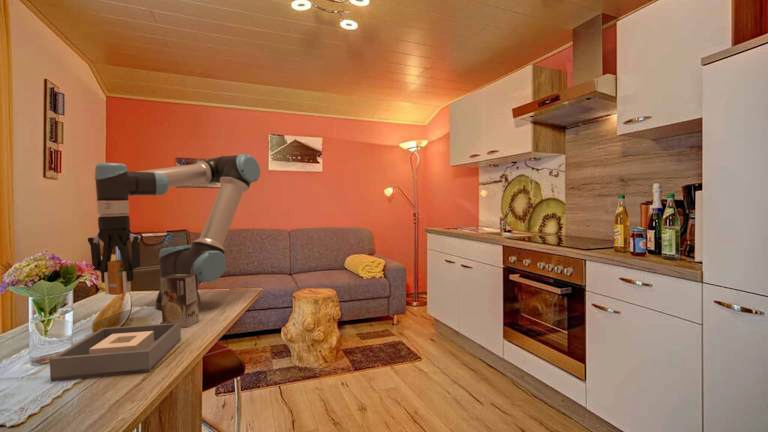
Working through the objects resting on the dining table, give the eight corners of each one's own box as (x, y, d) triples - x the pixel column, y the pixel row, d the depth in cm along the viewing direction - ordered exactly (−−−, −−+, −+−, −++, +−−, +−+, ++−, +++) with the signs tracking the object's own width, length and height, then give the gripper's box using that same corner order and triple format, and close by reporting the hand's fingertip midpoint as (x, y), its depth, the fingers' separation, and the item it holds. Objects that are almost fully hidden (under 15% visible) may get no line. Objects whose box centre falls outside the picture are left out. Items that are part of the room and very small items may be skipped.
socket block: (112, 348, 95) (112, 333, 94) (154, 345, 97) (153, 330, 96) (89, 365, 85) (89, 349, 85) (136, 361, 87) (135, 345, 87)
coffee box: (200, 320, 119) (198, 273, 118) (187, 327, 112) (186, 277, 112) (174, 320, 120) (173, 273, 119) (160, 326, 113) (159, 277, 113)
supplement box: (118, 295, 104) (115, 261, 104) (109, 295, 105) (105, 261, 104) (129, 291, 108) (125, 259, 107) (119, 291, 108) (116, 259, 108)
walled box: (102, 345, 98) (102, 328, 98) (180, 339, 102) (180, 322, 102) (50, 381, 79) (49, 359, 79) (149, 372, 83) (148, 351, 83)
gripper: (72, 216, 100) (77, 298, 101) (139, 215, 103) (144, 293, 104) (88, 215, 107) (93, 291, 108) (151, 214, 110) (155, 287, 112)
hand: (118, 292), depth 106 cm, fingers closed on supplement box, 4 cm apart
